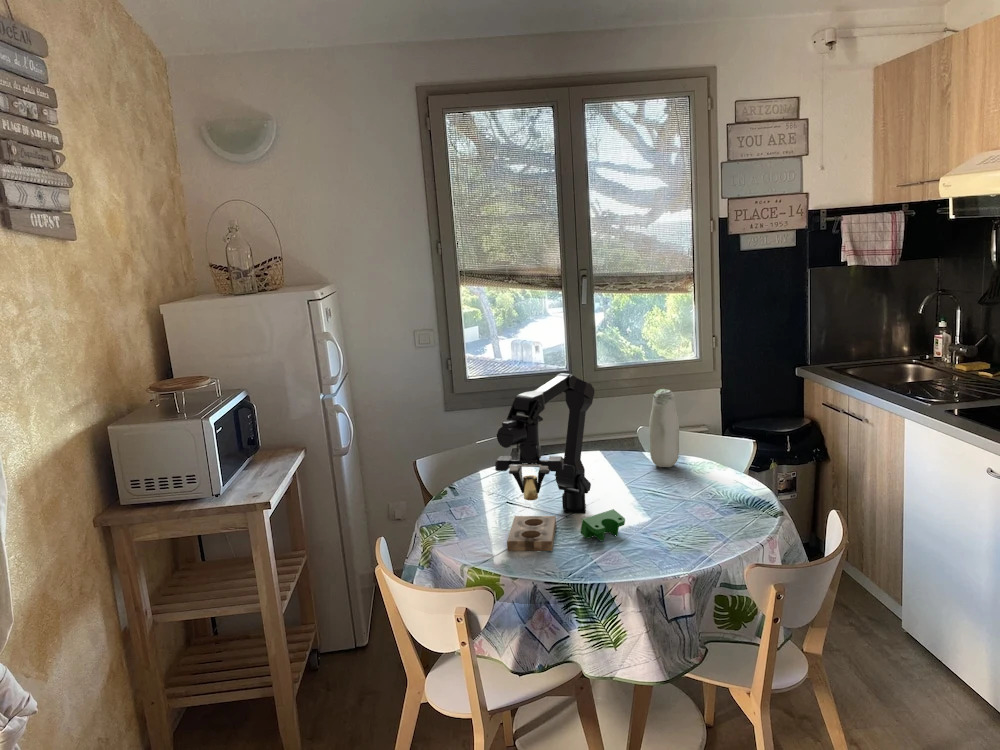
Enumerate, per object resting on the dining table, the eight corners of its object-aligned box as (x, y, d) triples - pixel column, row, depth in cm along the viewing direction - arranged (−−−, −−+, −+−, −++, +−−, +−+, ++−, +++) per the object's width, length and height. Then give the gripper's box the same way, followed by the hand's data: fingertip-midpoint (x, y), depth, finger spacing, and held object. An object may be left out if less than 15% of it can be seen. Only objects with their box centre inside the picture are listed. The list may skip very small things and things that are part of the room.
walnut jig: (556, 525, 214) (555, 516, 214) (552, 551, 197) (551, 541, 196) (515, 525, 216) (514, 515, 215) (507, 551, 199) (507, 541, 198)
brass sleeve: (538, 495, 210) (538, 475, 209) (537, 500, 206) (536, 479, 205) (524, 495, 210) (523, 474, 209) (522, 500, 207) (522, 479, 205)
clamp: (597, 555, 203) (590, 534, 198) (584, 544, 208) (577, 522, 203) (630, 531, 207) (624, 509, 202) (616, 520, 212) (610, 498, 206)
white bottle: (648, 462, 266) (647, 386, 260) (677, 462, 264) (676, 385, 259) (651, 471, 256) (650, 393, 250) (681, 470, 255) (680, 392, 249)
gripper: (564, 431, 211) (565, 483, 214) (500, 431, 214) (502, 483, 217) (561, 442, 201) (562, 497, 203) (493, 442, 204) (496, 496, 206)
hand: (530, 492), depth 208 cm, fingers closed on brass sleeve, 4 cm apart
